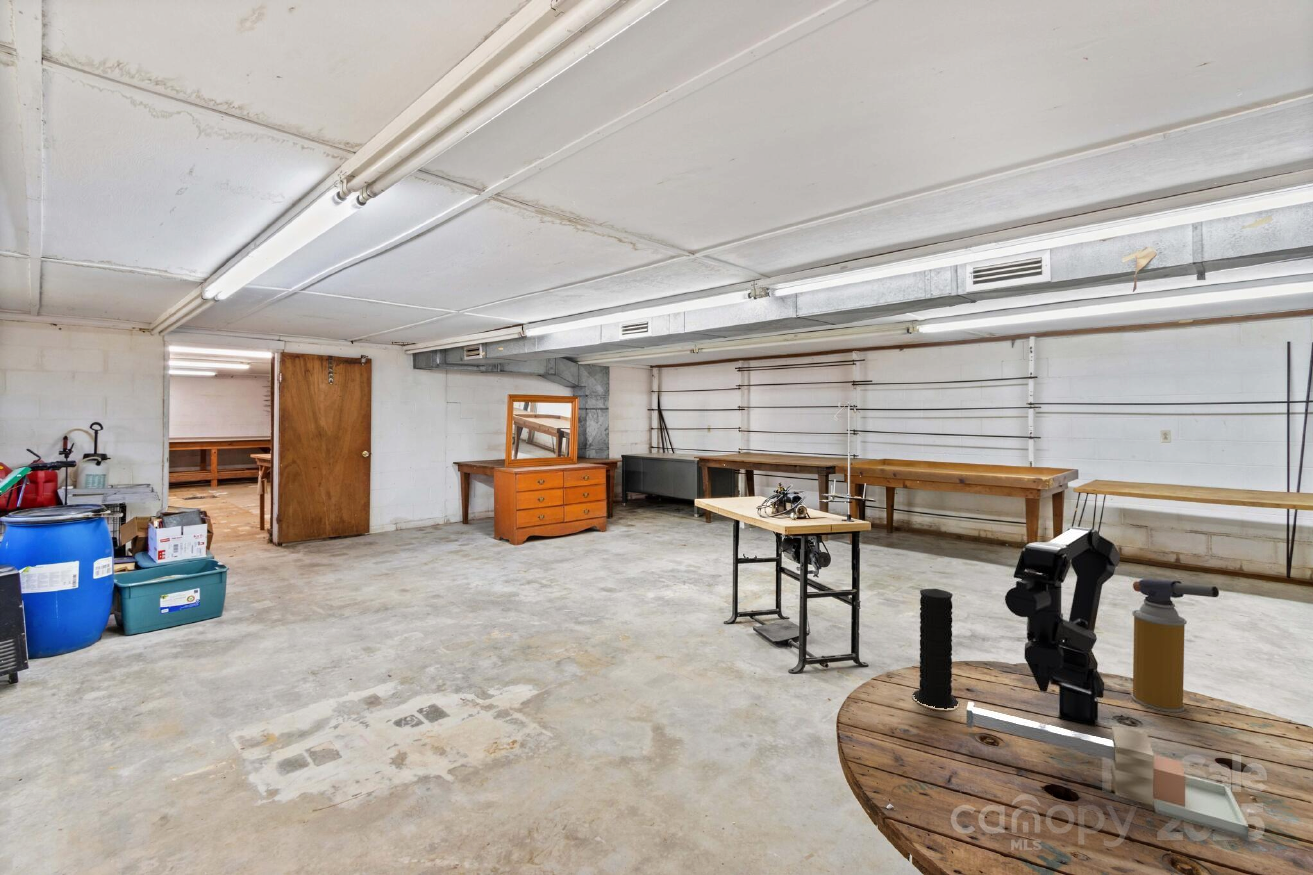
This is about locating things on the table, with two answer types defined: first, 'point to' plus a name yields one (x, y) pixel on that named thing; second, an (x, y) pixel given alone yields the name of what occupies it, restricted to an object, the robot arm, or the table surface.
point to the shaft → (1040, 732)
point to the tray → (1207, 807)
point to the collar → (1169, 781)
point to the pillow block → (1132, 765)
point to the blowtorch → (1161, 643)
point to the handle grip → (936, 649)
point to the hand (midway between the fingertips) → (1043, 682)
